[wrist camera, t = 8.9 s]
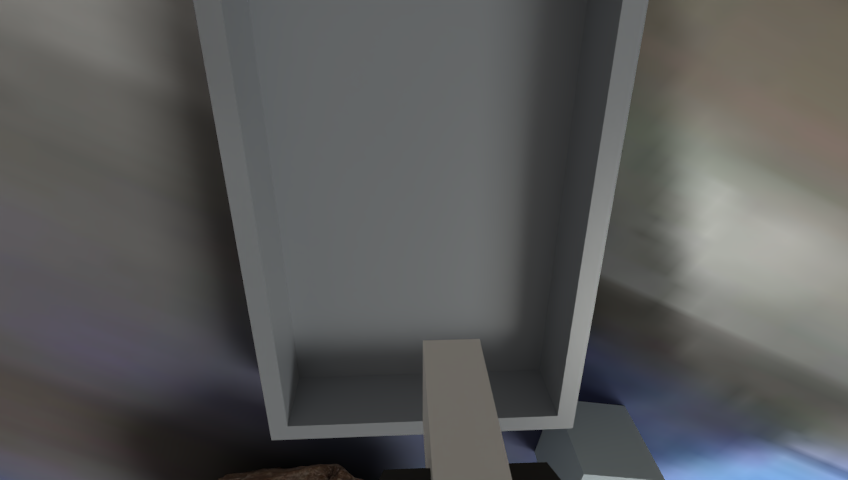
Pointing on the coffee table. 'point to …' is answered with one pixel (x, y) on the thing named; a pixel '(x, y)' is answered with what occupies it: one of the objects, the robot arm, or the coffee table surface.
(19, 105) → the coffee table surface
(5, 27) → the coffee table surface
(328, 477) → the rock
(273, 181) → the grey tray
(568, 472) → the bluegrey block
